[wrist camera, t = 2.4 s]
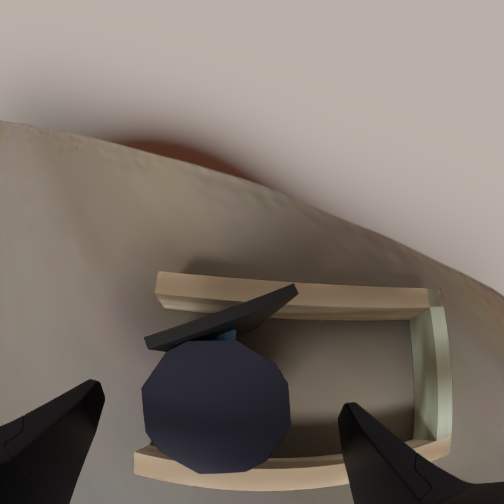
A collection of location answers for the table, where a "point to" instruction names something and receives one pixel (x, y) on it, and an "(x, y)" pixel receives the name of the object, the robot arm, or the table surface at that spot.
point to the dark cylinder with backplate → (217, 391)
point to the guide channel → (321, 308)
